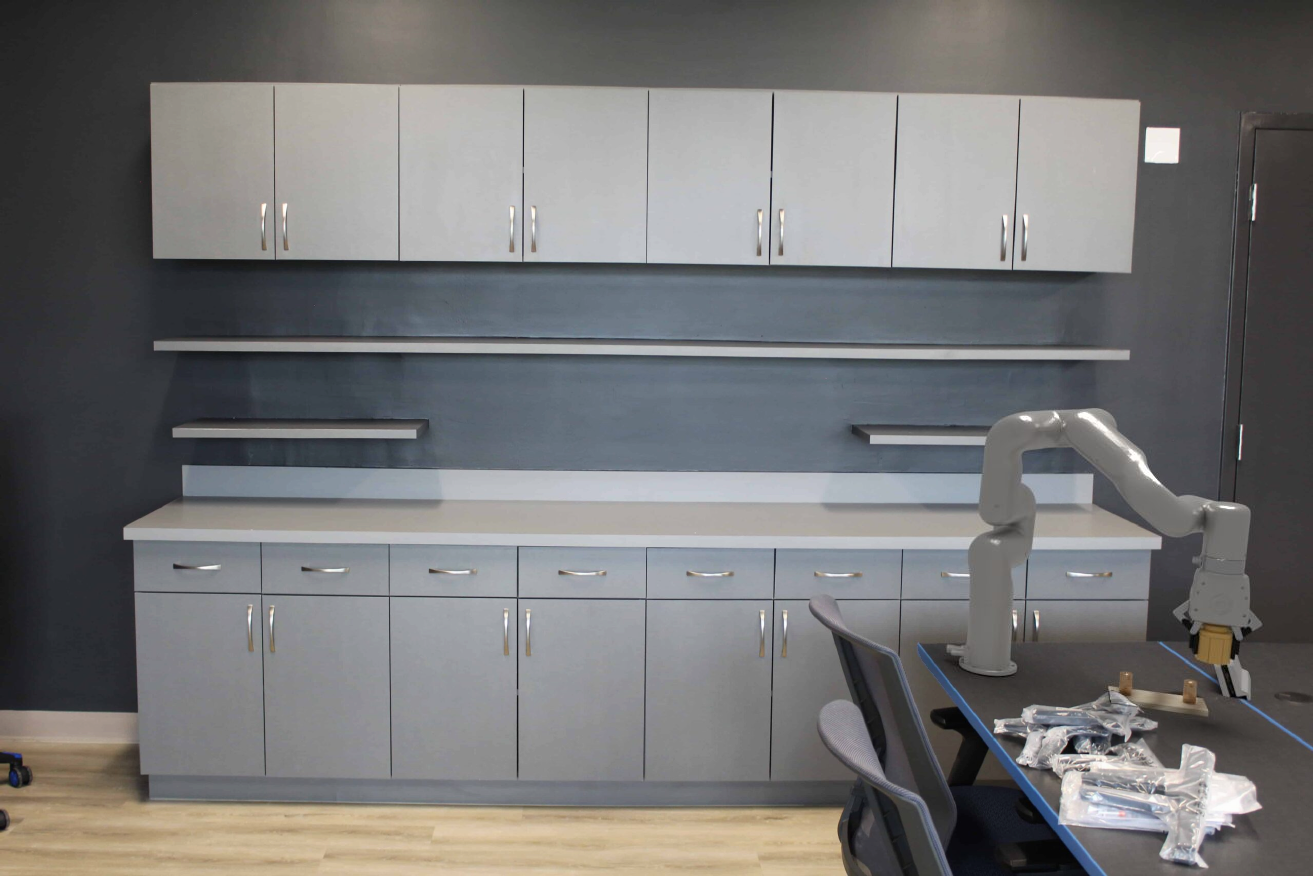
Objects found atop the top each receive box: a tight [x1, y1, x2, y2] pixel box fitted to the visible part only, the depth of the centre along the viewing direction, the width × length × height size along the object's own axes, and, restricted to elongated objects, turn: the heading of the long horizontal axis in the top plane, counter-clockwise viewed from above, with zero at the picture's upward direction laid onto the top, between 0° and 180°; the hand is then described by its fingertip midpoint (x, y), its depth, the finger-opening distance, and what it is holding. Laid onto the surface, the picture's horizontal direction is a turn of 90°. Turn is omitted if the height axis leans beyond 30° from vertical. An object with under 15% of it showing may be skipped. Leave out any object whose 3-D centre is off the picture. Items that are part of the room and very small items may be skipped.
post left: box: [1118, 670, 1134, 696], centre depth 209 cm, size 2×2×4 cm
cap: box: [1194, 623, 1233, 665], centre depth 195 cm, size 6×6×7 cm
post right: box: [1182, 678, 1198, 705], centre depth 205 cm, size 2×2×4 cm
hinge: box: [1213, 655, 1252, 701], centre depth 218 cm, size 17×5×10 cm, turn 149°
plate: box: [1107, 685, 1209, 717], centre depth 207 cm, size 18×8×1 cm, turn 69°
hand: (1212, 654), depth 196 cm, fingers closed on cap, 5 cm apart
